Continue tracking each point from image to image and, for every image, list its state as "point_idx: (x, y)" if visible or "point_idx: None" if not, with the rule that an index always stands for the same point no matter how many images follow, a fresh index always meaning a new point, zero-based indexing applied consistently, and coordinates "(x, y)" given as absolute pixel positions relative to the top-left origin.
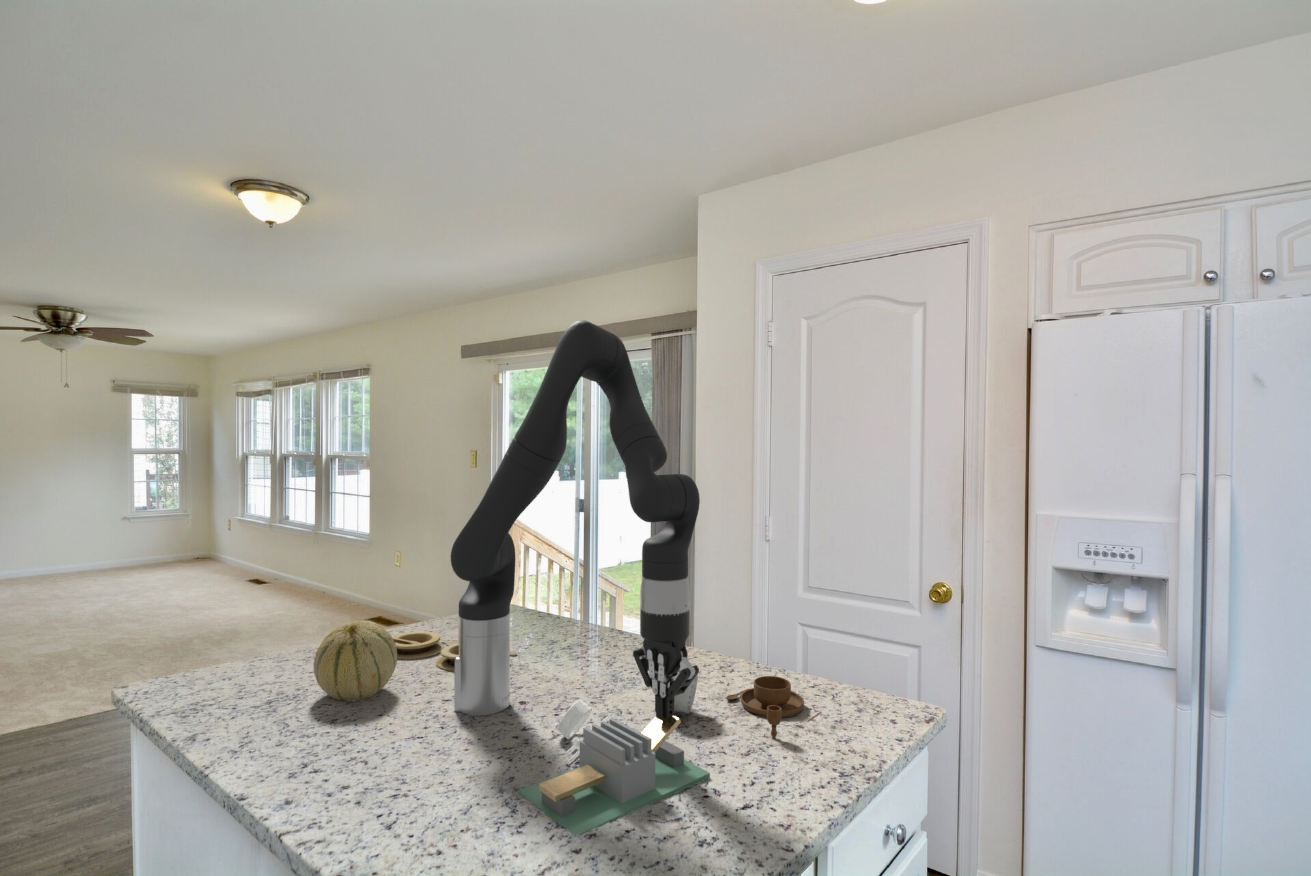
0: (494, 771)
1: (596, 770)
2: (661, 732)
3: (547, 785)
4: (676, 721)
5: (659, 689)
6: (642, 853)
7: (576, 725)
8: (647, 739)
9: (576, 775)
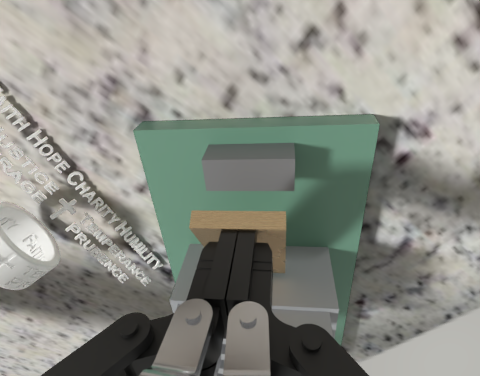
0: (107, 324)
1: None
2: None
3: None
4: (285, 234)
5: (218, 359)
6: (416, 316)
7: (10, 215)
8: None
9: None
